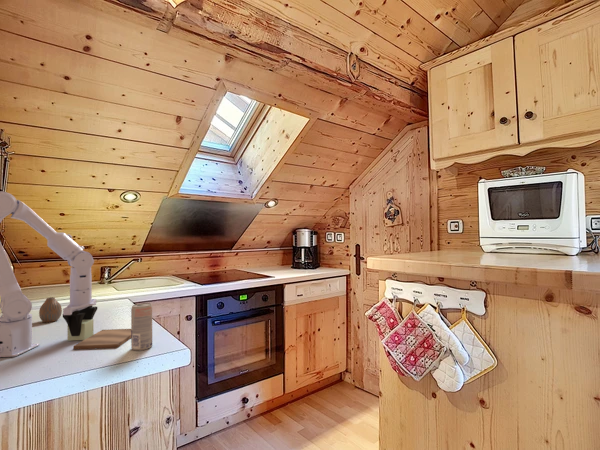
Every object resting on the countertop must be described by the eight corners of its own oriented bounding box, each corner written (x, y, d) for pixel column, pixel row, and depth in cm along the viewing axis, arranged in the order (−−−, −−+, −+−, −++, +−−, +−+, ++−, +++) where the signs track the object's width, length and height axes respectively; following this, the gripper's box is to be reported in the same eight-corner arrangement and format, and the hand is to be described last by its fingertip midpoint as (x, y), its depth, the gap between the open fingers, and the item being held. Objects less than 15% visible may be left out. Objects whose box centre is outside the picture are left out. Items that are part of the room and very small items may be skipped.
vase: (65, 320, 128) (65, 297, 129) (44, 324, 123) (44, 300, 123) (56, 318, 132) (56, 295, 132) (35, 322, 126) (35, 298, 126)
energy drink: (146, 343, 99) (146, 302, 99) (156, 347, 95) (155, 304, 96) (128, 348, 95) (127, 305, 95) (136, 352, 91) (136, 307, 92)
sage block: (84, 339, 103) (84, 323, 103) (67, 340, 102) (67, 324, 103) (93, 335, 108) (93, 319, 108) (77, 335, 107) (77, 319, 108)
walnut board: (117, 347, 95) (117, 344, 95) (73, 349, 94) (73, 345, 95) (140, 331, 111) (140, 328, 111) (102, 332, 110) (102, 329, 110)
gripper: (81, 292, 99) (80, 339, 98) (105, 285, 113) (105, 326, 113) (55, 293, 98) (55, 340, 98) (83, 286, 113) (83, 327, 112)
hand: (80, 333), depth 105 cm, fingers closed on sage block, 5 cm apart
